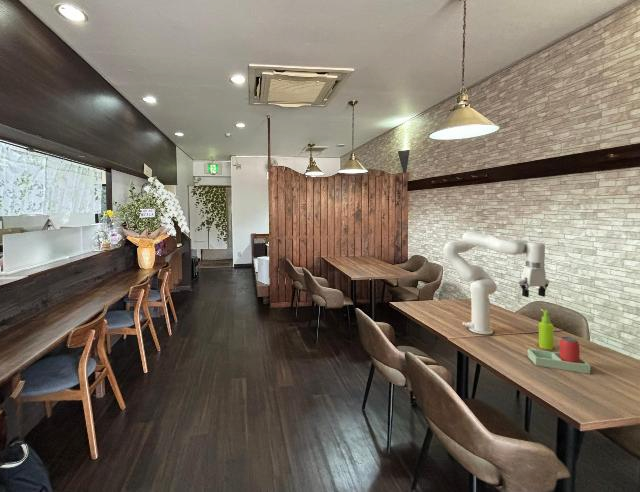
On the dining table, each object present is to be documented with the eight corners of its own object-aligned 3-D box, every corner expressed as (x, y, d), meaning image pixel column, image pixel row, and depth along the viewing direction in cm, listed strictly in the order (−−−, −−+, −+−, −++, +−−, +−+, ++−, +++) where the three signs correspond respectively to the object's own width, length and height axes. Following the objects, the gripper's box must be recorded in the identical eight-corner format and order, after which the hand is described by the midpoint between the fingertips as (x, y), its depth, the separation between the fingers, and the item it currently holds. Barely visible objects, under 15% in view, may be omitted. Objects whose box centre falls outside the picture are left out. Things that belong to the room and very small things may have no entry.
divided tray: (535, 365, 138) (535, 357, 137) (527, 355, 147) (527, 348, 147) (590, 373, 130) (590, 365, 130) (577, 363, 139) (577, 355, 139)
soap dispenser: (548, 345, 159) (548, 309, 158) (555, 350, 152) (555, 313, 152) (535, 343, 161) (535, 308, 160) (542, 349, 154) (542, 312, 154)
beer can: (583, 368, 133) (583, 342, 132) (566, 366, 134) (566, 341, 134) (572, 361, 139) (572, 336, 139) (556, 359, 140) (556, 335, 140)
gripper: (542, 263, 160) (541, 293, 160) (513, 264, 158) (512, 294, 159) (556, 266, 152) (555, 298, 153) (526, 266, 150) (525, 298, 151)
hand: (533, 296), depth 156 cm, fingers open, 9 cm apart
